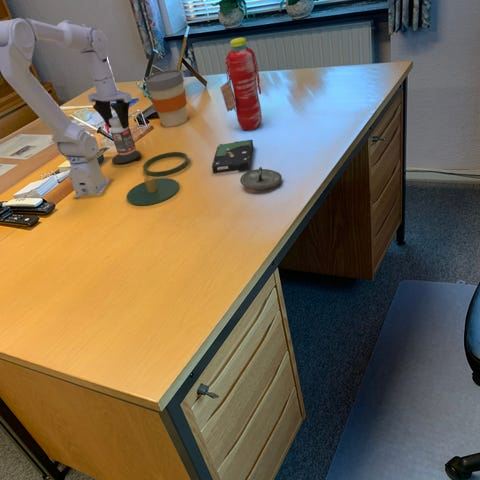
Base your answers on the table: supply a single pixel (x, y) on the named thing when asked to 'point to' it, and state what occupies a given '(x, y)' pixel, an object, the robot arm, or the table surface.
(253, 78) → the water bottle
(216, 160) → the disk drive
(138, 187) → the tin lid
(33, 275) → the table surface
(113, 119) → the pill bottle
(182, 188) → the table surface
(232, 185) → the table surface
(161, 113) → the reusable coffee cup
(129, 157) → the stand
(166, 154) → the dark green open loop
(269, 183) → the lid
